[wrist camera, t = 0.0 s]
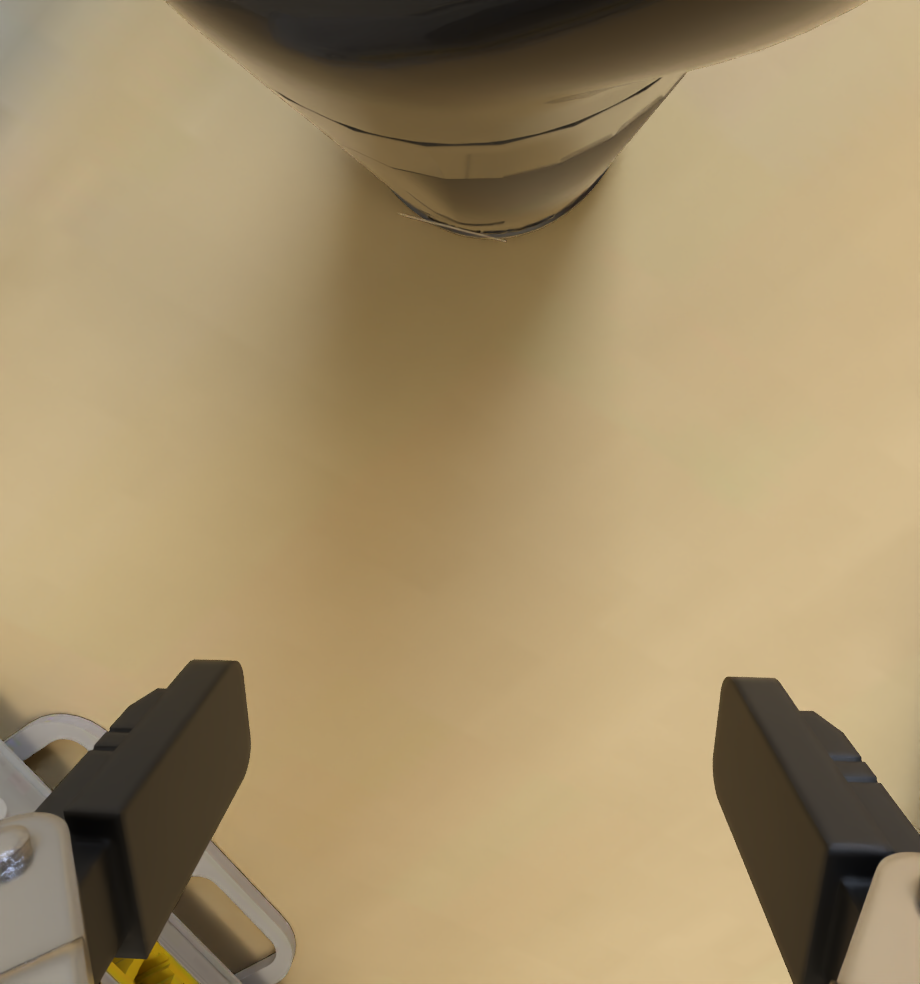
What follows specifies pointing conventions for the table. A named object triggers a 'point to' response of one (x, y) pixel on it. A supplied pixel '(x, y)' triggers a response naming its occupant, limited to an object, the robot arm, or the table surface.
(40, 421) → the table surface
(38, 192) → the table surface
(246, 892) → the network device
